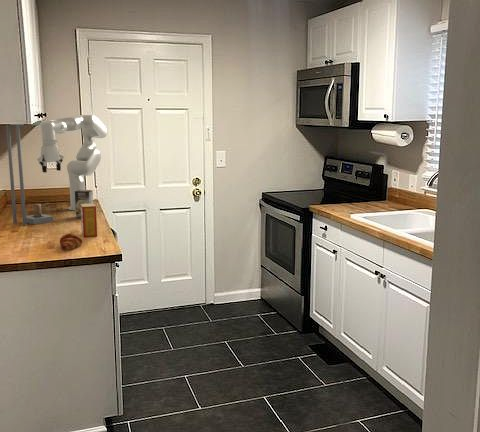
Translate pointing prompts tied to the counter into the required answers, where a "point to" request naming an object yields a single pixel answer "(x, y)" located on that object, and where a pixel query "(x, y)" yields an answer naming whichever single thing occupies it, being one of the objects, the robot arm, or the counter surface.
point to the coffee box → (82, 199)
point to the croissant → (70, 241)
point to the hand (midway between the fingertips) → (51, 171)
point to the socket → (39, 219)
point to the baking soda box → (88, 220)
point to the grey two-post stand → (19, 172)
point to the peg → (37, 210)
